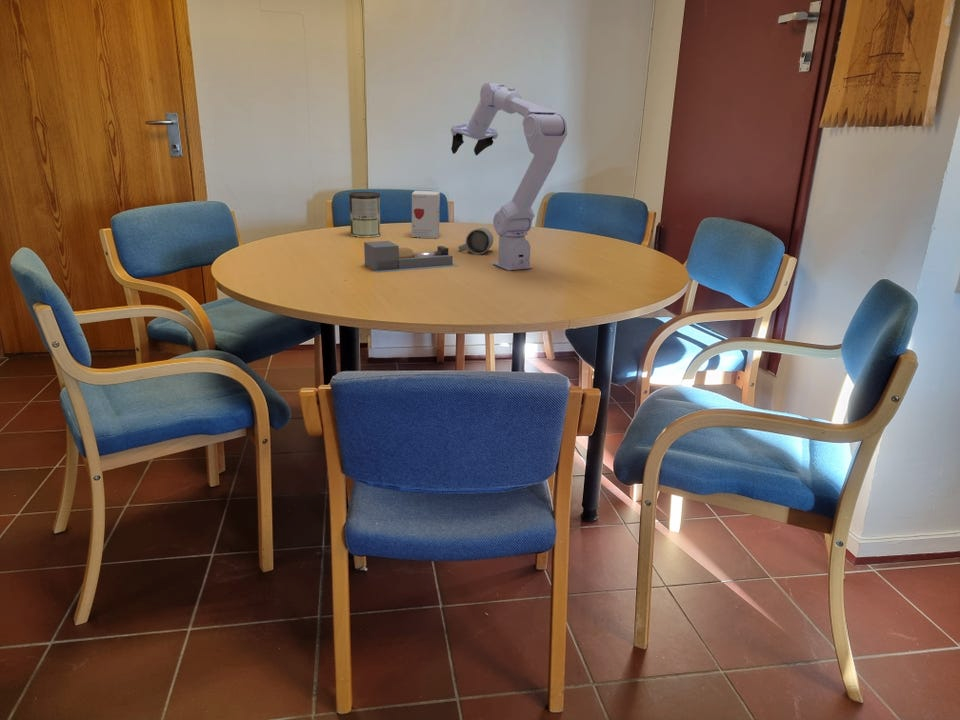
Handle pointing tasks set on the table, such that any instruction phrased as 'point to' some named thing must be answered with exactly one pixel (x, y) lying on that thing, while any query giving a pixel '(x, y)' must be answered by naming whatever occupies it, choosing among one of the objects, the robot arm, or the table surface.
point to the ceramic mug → (478, 241)
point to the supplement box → (425, 214)
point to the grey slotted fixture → (387, 259)
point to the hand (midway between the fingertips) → (464, 152)
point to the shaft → (439, 252)
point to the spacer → (405, 253)
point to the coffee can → (365, 214)
